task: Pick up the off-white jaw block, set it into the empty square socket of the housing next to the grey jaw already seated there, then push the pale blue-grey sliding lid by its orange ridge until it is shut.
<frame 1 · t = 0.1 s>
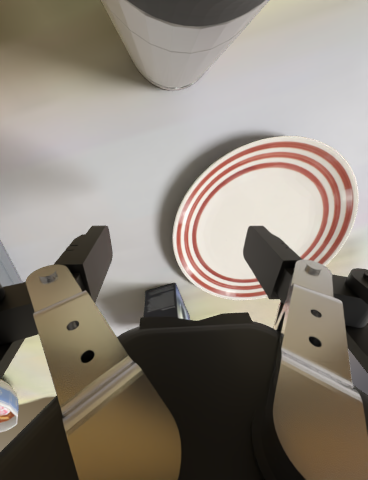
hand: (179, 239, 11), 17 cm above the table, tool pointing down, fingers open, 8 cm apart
dinner plate: (254, 228, 32), on the table
small box: (169, 303, 40), on the table
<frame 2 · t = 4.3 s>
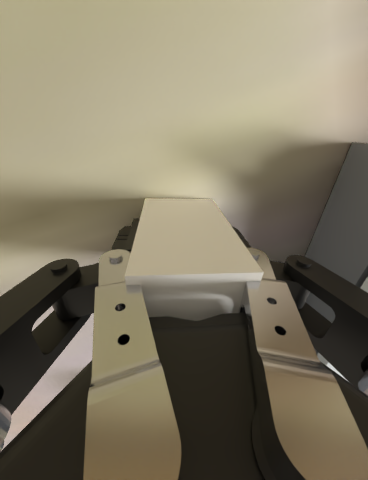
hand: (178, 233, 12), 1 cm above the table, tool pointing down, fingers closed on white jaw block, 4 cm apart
housing: (253, 343, 20), on the table
white jaw block: (178, 228, 13), on the table, touching gripper
when the fingers open (3 cm above the table, at t = 8.4 s): white jaw block drops 1 cm, resting on housing.
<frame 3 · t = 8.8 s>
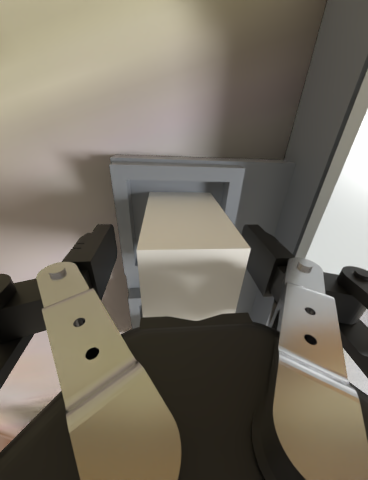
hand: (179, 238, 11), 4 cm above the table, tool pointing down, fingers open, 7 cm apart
housing: (239, 263, 18), on the table
white jaw block: (179, 220, 14), point 1 cm above the table, touching housing
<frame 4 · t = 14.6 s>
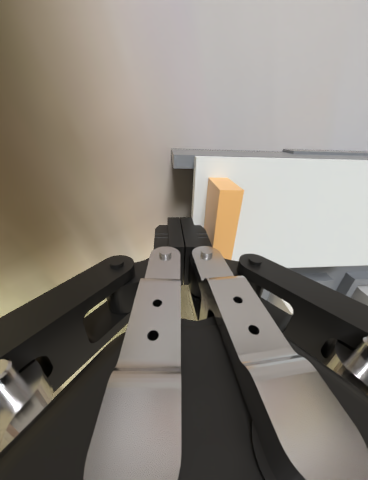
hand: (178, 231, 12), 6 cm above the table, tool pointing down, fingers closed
housing: (334, 248, 22), on the table
lid: (315, 228, 13), point 6 cm above the table, slide at 9.1 cm, touching gripper
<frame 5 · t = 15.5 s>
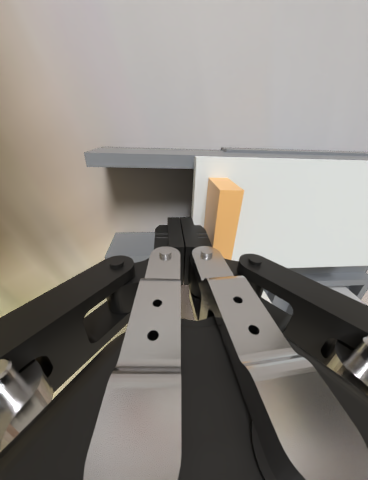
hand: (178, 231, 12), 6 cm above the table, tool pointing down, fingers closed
housing: (289, 250, 22), on the table
lid: (315, 228, 13), point 6 cm above the table, slide at 3.9 cm, touching gripper
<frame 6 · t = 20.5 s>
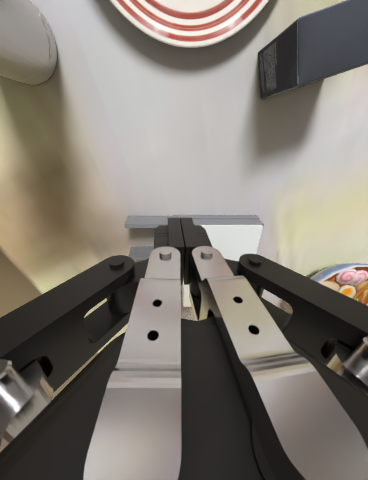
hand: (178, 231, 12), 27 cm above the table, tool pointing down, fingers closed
ramen bowl: (322, 281, 55), on the table
housing: (210, 254, 46), on the table
white jaw block: (189, 278, 48), point 1 cm above the table, touching housing
small box: (291, 65, 30), on the table
lid: (220, 247, 38), point 6 cm above the table, slide at 0.2 cm
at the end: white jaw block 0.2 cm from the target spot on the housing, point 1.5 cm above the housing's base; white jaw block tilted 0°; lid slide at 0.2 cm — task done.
